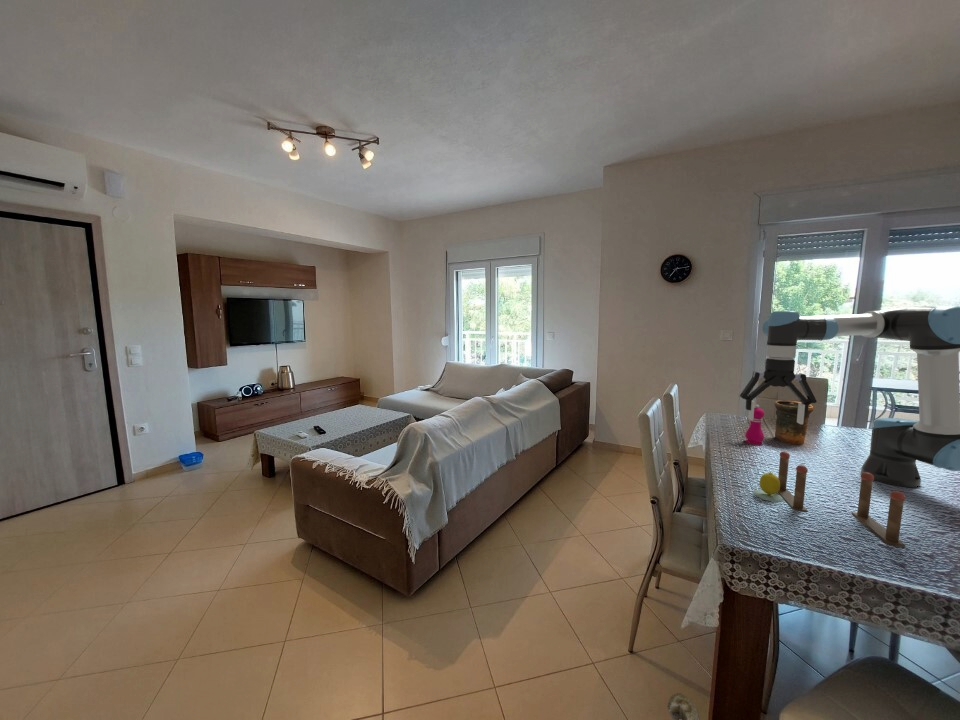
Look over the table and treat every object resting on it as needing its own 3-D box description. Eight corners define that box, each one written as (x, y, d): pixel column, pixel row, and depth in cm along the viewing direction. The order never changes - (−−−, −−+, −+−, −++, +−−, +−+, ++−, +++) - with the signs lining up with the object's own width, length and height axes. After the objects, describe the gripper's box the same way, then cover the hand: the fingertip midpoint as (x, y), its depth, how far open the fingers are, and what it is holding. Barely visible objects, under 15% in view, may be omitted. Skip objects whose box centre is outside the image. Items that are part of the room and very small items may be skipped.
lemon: (754, 491, 130) (756, 469, 129) (769, 491, 130) (771, 469, 129) (768, 499, 124) (770, 476, 123) (783, 498, 125) (785, 475, 124)
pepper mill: (759, 443, 181) (763, 403, 179) (765, 448, 174) (769, 406, 172) (742, 442, 183) (745, 402, 181) (747, 447, 176) (750, 405, 174)
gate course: (842, 497, 127) (847, 456, 125) (904, 547, 99) (911, 495, 98) (773, 488, 133) (776, 449, 132) (813, 532, 106) (818, 483, 104)
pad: (777, 493, 130) (777, 492, 130) (786, 504, 122) (787, 502, 122) (750, 490, 132) (750, 488, 132) (757, 500, 125) (758, 498, 125)
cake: (673, 694, 138) (674, 681, 137) (703, 715, 131) (704, 702, 130) (662, 713, 131) (663, 699, 131) (693, 736, 124) (694, 722, 123)
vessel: (812, 450, 171) (817, 408, 169) (773, 445, 179) (777, 404, 176) (806, 442, 183) (810, 402, 181) (769, 437, 191) (773, 399, 188)
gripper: (822, 358, 121) (815, 421, 123) (732, 356, 130) (728, 415, 132) (834, 360, 114) (827, 428, 116) (738, 358, 123) (734, 420, 125)
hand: (774, 421), depth 124 cm, fingers open, 13 cm apart
